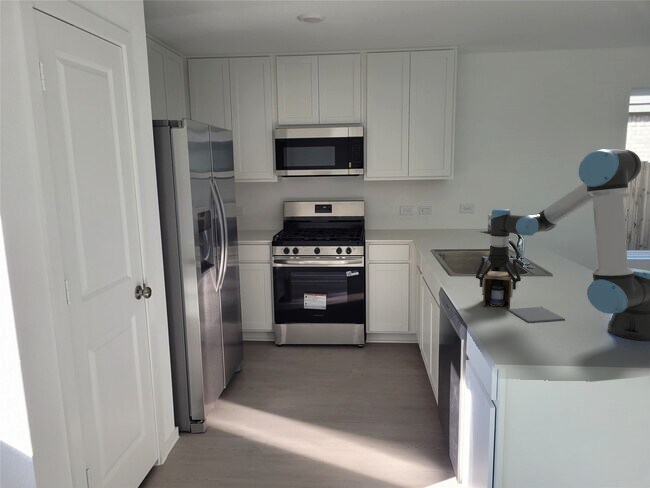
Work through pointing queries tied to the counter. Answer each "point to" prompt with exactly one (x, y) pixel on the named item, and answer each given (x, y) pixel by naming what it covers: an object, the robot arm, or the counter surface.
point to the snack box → (489, 223)
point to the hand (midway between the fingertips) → (497, 295)
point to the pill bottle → (497, 292)
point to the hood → (488, 282)
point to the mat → (536, 314)
